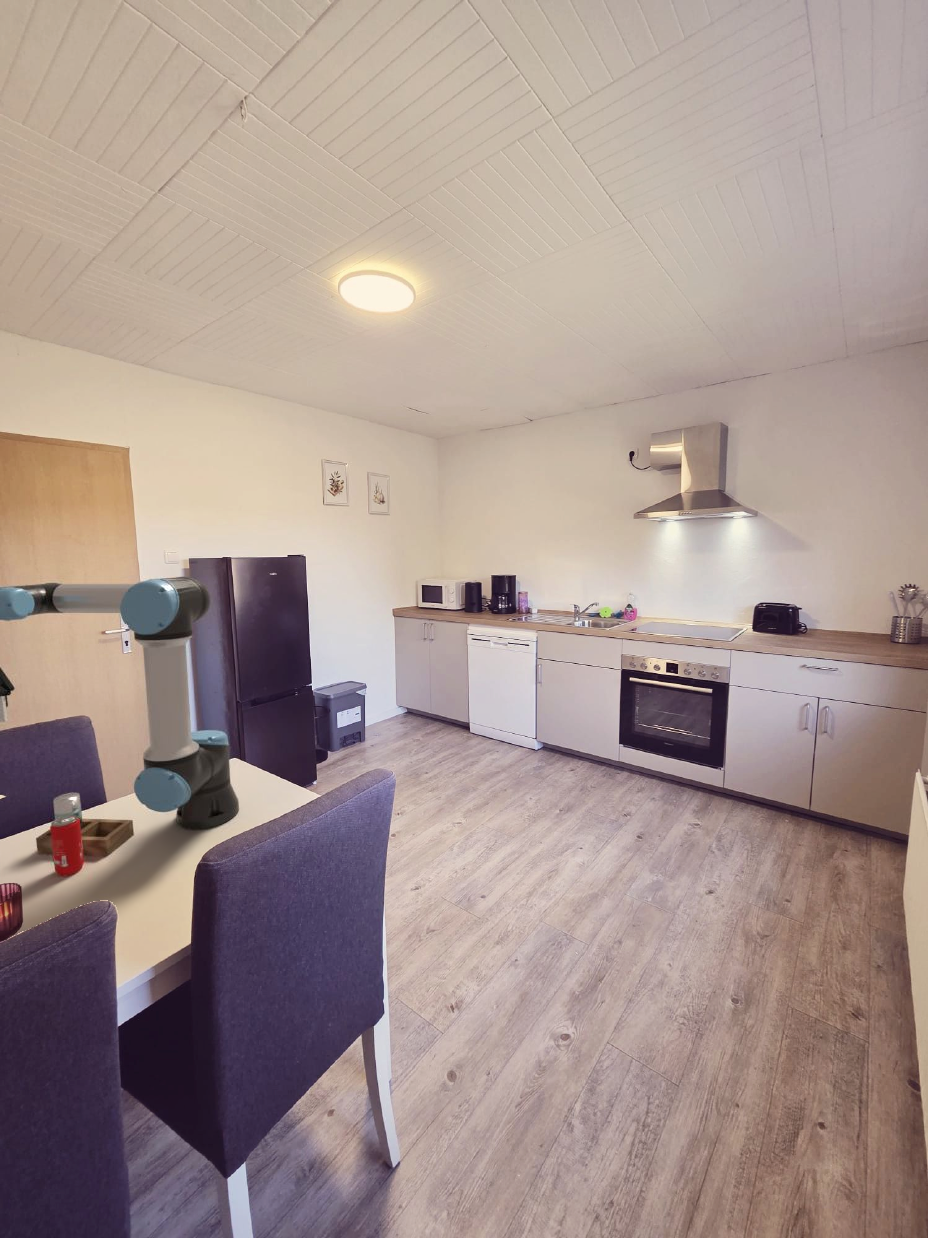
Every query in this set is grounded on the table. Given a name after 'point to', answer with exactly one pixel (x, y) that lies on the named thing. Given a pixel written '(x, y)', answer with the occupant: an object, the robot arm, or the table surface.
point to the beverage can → (67, 845)
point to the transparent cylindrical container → (68, 806)
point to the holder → (95, 837)
